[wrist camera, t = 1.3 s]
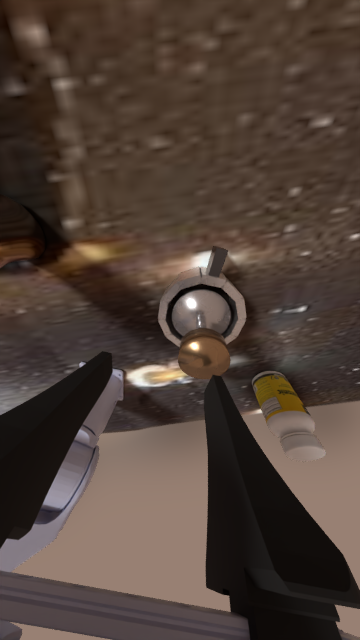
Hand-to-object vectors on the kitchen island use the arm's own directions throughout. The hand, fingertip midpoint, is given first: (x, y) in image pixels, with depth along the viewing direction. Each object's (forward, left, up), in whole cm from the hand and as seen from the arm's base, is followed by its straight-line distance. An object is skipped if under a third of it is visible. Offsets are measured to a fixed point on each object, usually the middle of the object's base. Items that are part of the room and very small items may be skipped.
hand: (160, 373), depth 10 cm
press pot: (+3, -3, -10) cm, 11 cm away
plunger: (+1, -3, -7) cm, 8 cm away
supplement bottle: (-10, -18, -11) cm, 23 cm away
